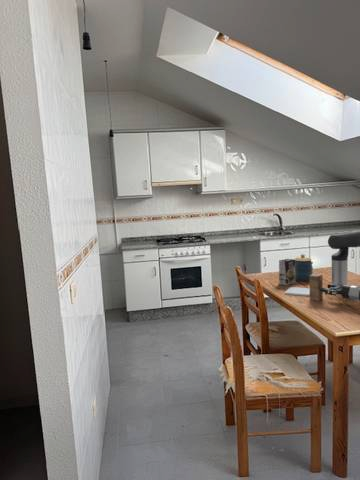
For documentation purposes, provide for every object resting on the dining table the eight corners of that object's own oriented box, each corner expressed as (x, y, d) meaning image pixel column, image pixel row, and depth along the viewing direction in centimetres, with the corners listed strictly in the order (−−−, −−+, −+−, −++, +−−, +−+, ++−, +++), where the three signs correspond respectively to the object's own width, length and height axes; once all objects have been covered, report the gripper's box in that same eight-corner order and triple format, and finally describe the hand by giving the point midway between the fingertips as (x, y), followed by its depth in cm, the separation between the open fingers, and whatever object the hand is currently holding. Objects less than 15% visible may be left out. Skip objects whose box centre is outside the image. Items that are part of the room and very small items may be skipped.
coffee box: (286, 285, 244) (286, 261, 242) (278, 284, 249) (278, 260, 248) (295, 283, 249) (295, 259, 247) (288, 281, 254) (287, 258, 252)
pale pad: (290, 288, 236) (290, 286, 236) (313, 290, 229) (313, 288, 229) (284, 294, 224) (284, 292, 224) (308, 296, 217) (308, 294, 217)
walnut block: (314, 297, 214) (314, 273, 212) (322, 299, 210) (322, 274, 209) (309, 299, 211) (309, 275, 209) (317, 301, 207) (317, 276, 205)
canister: (316, 278, 259) (316, 253, 257) (308, 282, 249) (307, 256, 247) (298, 276, 268) (298, 252, 266) (289, 280, 258) (289, 255, 256)
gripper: (359, 283, 198) (330, 278, 210) (346, 288, 189) (316, 283, 201) (359, 296, 199) (330, 291, 211) (346, 302, 190) (316, 297, 202)
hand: (323, 287), depth 206 cm, fingers open, 8 cm apart
